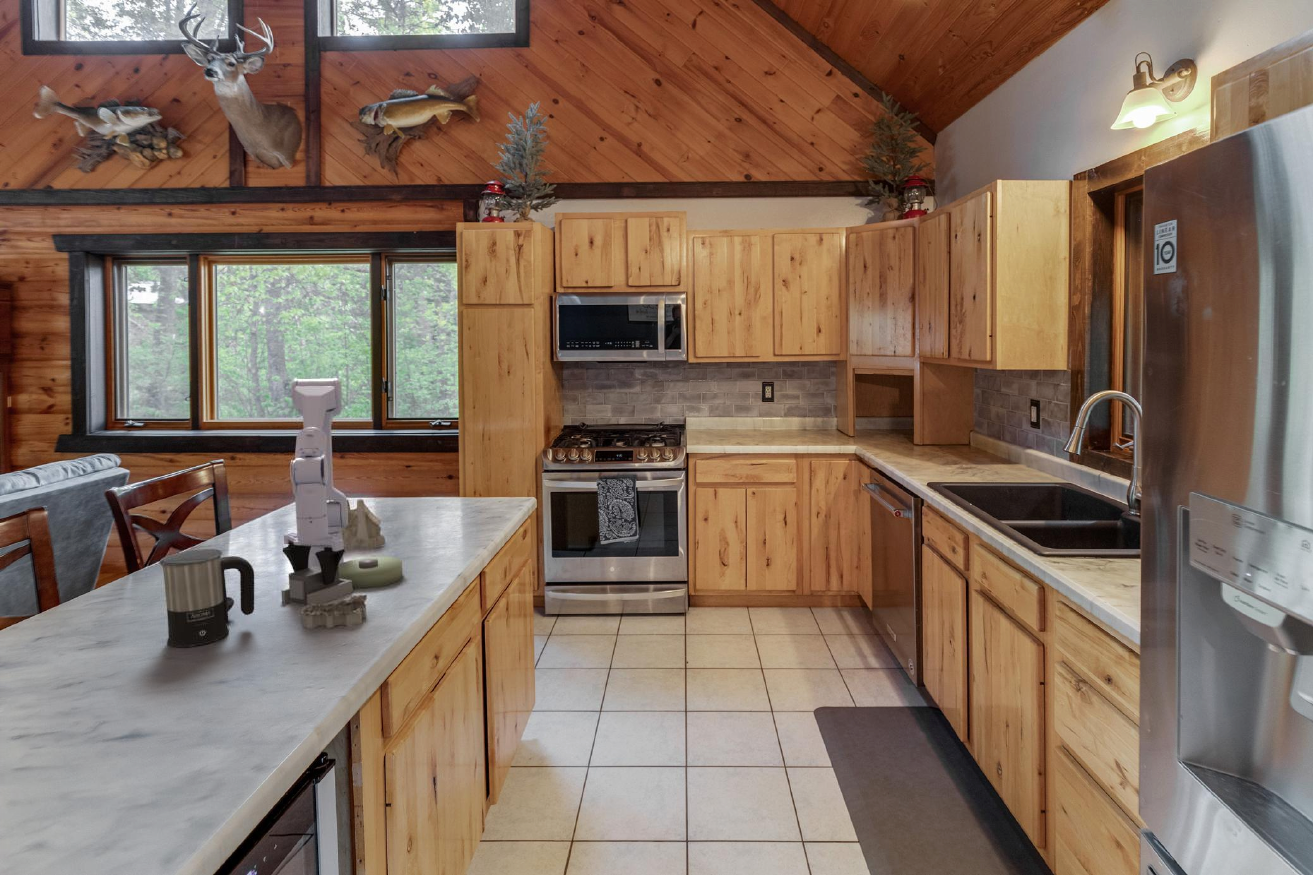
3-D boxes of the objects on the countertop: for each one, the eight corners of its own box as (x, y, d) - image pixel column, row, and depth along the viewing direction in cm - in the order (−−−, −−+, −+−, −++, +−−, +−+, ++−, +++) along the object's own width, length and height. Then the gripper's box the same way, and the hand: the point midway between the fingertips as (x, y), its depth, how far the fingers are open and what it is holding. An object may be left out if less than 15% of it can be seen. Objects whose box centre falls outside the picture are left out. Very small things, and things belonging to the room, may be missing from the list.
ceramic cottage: (376, 549, 185) (373, 490, 185) (312, 552, 185) (308, 493, 185) (397, 538, 201) (394, 484, 200) (338, 540, 201) (334, 486, 200)
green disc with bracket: (271, 600, 147) (270, 580, 146) (369, 566, 170) (368, 550, 170) (321, 609, 141) (320, 589, 141) (415, 573, 165) (415, 556, 164)
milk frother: (182, 652, 121) (176, 566, 119) (137, 633, 129) (131, 552, 128) (266, 626, 133) (261, 547, 131) (220, 610, 141) (215, 535, 140)
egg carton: (370, 614, 140) (369, 593, 139) (357, 628, 132) (356, 607, 132) (313, 615, 139) (312, 594, 138) (297, 630, 131) (296, 608, 131)
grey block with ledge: (305, 606, 143) (304, 577, 143) (288, 603, 145) (286, 574, 145) (340, 594, 151) (338, 566, 150) (323, 591, 153) (321, 563, 152)
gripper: (269, 516, 146) (273, 582, 147) (321, 523, 140) (325, 591, 141) (299, 509, 152) (302, 573, 154) (350, 516, 146) (353, 581, 148)
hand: (315, 581), depth 148 cm, fingers open, 7 cm apart
